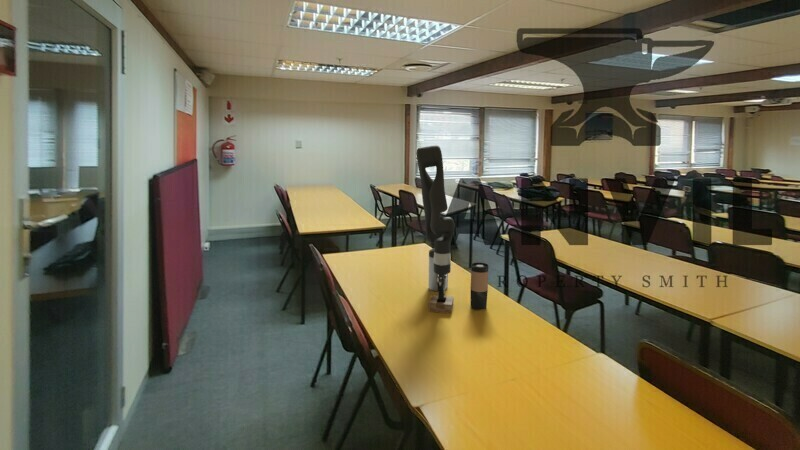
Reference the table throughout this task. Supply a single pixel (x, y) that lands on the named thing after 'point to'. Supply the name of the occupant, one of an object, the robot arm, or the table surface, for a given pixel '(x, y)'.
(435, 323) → the table surface
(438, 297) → the pin
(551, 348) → the table surface
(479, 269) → the travel mug
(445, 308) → the slot block
